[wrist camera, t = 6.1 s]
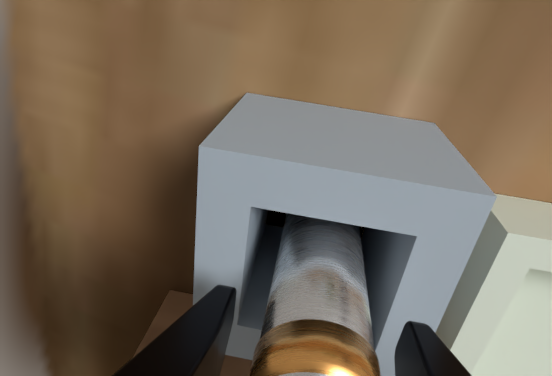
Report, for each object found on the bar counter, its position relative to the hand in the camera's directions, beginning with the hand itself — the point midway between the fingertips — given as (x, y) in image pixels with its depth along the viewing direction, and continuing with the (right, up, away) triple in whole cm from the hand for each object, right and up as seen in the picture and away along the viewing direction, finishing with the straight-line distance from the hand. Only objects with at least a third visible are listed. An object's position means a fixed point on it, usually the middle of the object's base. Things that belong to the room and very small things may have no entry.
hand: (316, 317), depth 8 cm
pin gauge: (+1, +3, +5) cm, 6 cm away
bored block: (+1, +3, +5) cm, 6 cm away
